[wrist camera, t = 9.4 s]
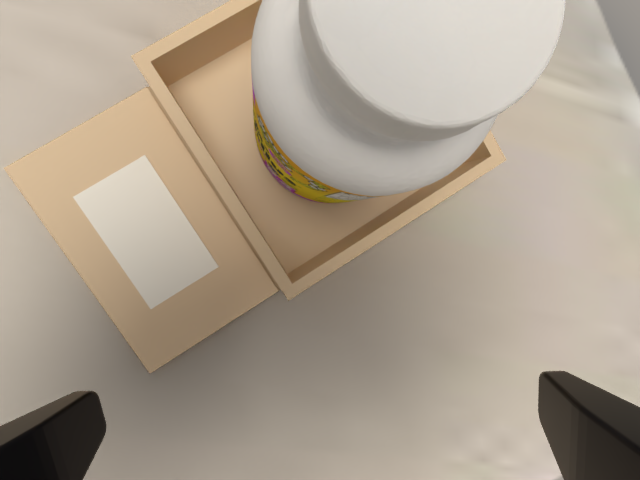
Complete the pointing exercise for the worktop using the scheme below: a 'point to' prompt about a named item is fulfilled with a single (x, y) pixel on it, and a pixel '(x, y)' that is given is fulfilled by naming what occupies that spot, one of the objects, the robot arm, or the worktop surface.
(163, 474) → the worktop surface
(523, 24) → the supplement bottle
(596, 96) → the worktop surface
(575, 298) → the worktop surface
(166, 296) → the mailer box
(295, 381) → the worktop surface
